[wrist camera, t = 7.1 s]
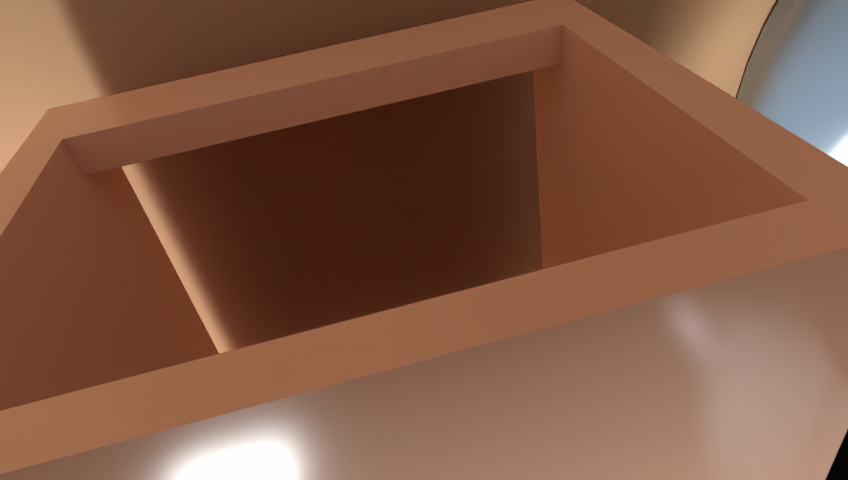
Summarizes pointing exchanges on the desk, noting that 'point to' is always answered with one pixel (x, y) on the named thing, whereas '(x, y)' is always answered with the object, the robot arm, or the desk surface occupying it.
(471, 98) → the desk surface
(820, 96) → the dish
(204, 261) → the desk surface
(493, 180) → the desk surface
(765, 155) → the container
